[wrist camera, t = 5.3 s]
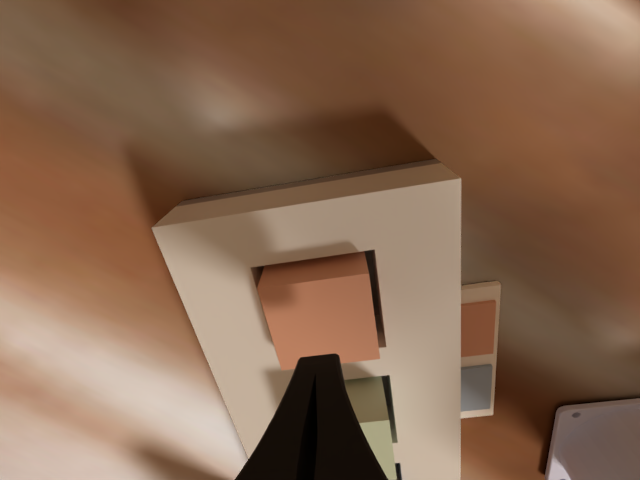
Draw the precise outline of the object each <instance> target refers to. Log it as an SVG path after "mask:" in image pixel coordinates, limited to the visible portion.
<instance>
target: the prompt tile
mask: <svg viewBox="0 0 640 480" xmlns="http://www.w3.org/2000/svg"><path fill="white" fill-rule="evenodd" d="M500 297H501V284H500V283H499V281H491V282H483V283H476V284H468V285H461V418H469V417H479V416H489V415H493V409H494V393H495V377H496V361H497V345H498V329H499V313H500Z"/></svg>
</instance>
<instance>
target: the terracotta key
mask: <svg viewBox="0 0 640 480" xmlns="http://www.w3.org/2000/svg"><path fill="white" fill-rule="evenodd" d="M257 290H258V294H259V297H260V300H261V304H262V307H263V310H264V314H265V317H266V320H267V323H268V327H269V330H270V333H271V337H272V340H273V343H274V347H275V350H276V353H277V357H278V360H279V363H280V367H281V370H290V369H295V367H296V365H297V362H298V360H299V359H300V357H307V356H316V355H325V354H333V353H336V354H338V355H339V357H340V362H341V363H350V362H358V361H367V360H376V359H380V353H379V346H378V338H377V330H376V323H375V315H374V308H373V300H372V292H371V285H370V277H369V271H368V266H367V261H366V257H365V252H364V251H361V252H354V253H347V254H340V255H334V256H327V257H320V258H313V259H306V260H299V261H292V262H285V263H278V264H272V265H265V266H264V269H263V272H262V275H261V278H260V281H259V284H258V287H257Z"/></svg>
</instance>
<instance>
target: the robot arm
mask: <svg viewBox="0 0 640 480" xmlns="http://www.w3.org/2000/svg"><path fill="white" fill-rule="evenodd" d="M235 480H388V478H387V477H386V475H385V473H384V471H383V469H382V468H381V466H380V464H379V462H378V460H377V459H376V457H375V455H374V453H373V451H372V449H371V447H370V445H369V443H368V441H367V439H366V437H365V435H364V433H363V431H362V428H361V426H360V424H359V422H358V419H357V417H356V415H355V412H354V410H353V407H352V405H351V402H350V399H349V397H348V394H347V391H346V387H345V382H344V377H343V372H342V367H341V362H340V357H339V355H338V354H336V353H333V354H325V355H316V356H307V357H300V359H299V360H298V362H297V365H296V367H295V370H294V372H293V375H292V377H291V380H290V382H289V384H288V387H287V389H286V391H285V393H284V396H283V398H282V400H281V402H280V404H279V406H278V408H277V410H276V412H275V414H274V416H273V418H272V420H271V422H270V423H269V425H268V427H267V429H266V431H265V432H264V434H263V436H262V438H261V440H260V441H259V443H258V445H257V446H256V448H255V450H254V451H253V453H252V455H251V456H250V458H249V459H248V461H247V462H246V464H245V465H244V467H243V469H242V470H241V472H240V473H239V474H238V476H237V477H236V479H235ZM545 480H640V398H636V399H626V400H616V401H606V402H596V403H586V404H576V405H566V406H561V407H559V408H558V409H557V411H556V416H555V422H554V428H553V433H552V439H551V444H550V450H549V456H548V461H547V467H546V473H545Z"/></svg>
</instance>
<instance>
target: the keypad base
mask: <svg viewBox="0 0 640 480" xmlns="http://www.w3.org/2000/svg"><path fill="white" fill-rule="evenodd" d="M152 231H153V233H154V235H155V238H156V240H157V242H158V245H159V247H160V250H161V252H162V254H163V257H164V259H165V262H166V264H167V266H168V269H169V271H170V273H171V276H172V278H173V281H174V283H175V285H176V288H177V290H178V292H179V295H180V297H181V300H182V302H183V304H184V307H185V309H186V311H187V314H188V316H189V319H190V321H191V323H192V326H193V328H194V330H195V333H196V335H197V338H198V340H199V342H200V345H201V347H202V349H203V352H204V354H205V357H206V359H207V361H208V364H209V366H210V368H211V371H212V373H213V376H214V378H215V380H216V383H217V385H218V388H219V390H220V392H221V395H222V397H223V399H224V402H225V404H226V407H227V409H228V411H229V414H230V416H231V418H232V421H233V423H234V426H235V428H236V430H237V433H238V435H239V437H240V440H241V442H242V445H243V447H244V449H245V452H246V454H247V456H248V459H249V458H250V456H251V455H252V453H253V451H254V450H255V448H256V446H257V445H258V443H259V441H260V440H261V438H262V436H263V434H264V432H265V431H266V429H267V427H268V425H269V423H270V422H271V420H272V418H273V416H274V414H275V412H276V410H277V408H278V406H279V404H280V402H281V400H282V398H283V396H284V393H285V391H286V389H287V387H288V384H289V382H290V380H291V377H292V375H293V372H294V370H295V369H290V370H281V367H280V363H279V360H278V357H277V353H276V350H275V347H274V343H273V340H272V337H271V333H270V330H269V327H268V323H267V320H266V317H265V314H264V310H263V307H262V304H261V300H260V297H259V294H258V290H257V287H258V284H259V281H260V278H261V275H262V272H263V269H264V266H265V265H272V264H278V263H285V262H292V261H299V260H306V259H313V258H320V257H327V256H334V255H340V254H347V253H354V252H361V251H364V252H365V257H366V261H367V266H368V271H369V277H370V285H371V292H372V300H373V308H374V315H375V323H376V330H377V338H378V346H379V353H380V359H376V360H367V361H358V362H350V363H341V367H342V372H343V377H344V380H349V379H358V378H367V377H376V376H381V377H382V383H383V388H384V394H385V399H386V405H387V410H388V416H389V422H390V430H391V437H392V445H393V453H394V460H395V468H396V476H397V479H396V480H460V468H461V178H460V177H459V176H458V175H456V174H455V173H454V172H453V171H451V170H450V169H449V168H447V167H446V166H445V165H444V164H442V163H441V162H440V161H438V160H437V159H431V160H425V161H419V162H413V163H407V164H401V165H395V166H389V167H383V168H377V169H371V170H365V171H359V172H353V173H347V174H341V175H335V176H329V177H323V178H317V179H311V180H305V181H299V182H293V183H287V184H281V185H275V186H269V187H263V188H257V189H251V190H245V191H239V192H233V193H227V194H221V195H215V196H209V197H203V198H197V199H191V200H185V201H181V202H180V203H179V204H178V205H177V206H176V207H174V208H173V209H172V210H171V211H170V212H169V213H168V214H166V215H165V216H164V217H163V218H162V219H161V220H160V221H159V222H157V223H156V224H155V225H154V226H153V227H152Z"/></svg>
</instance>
